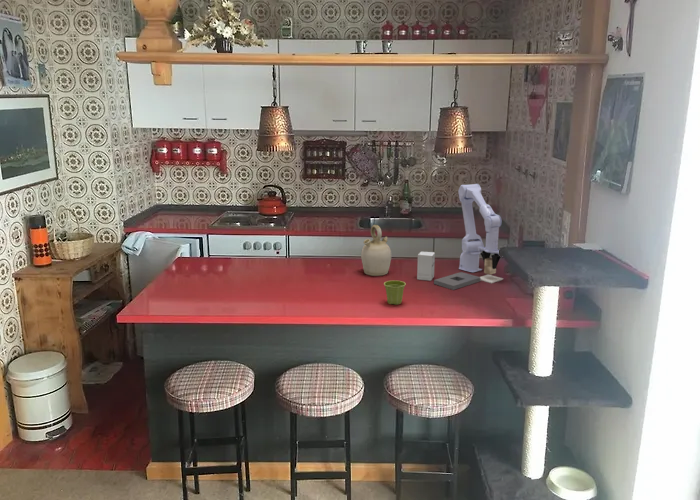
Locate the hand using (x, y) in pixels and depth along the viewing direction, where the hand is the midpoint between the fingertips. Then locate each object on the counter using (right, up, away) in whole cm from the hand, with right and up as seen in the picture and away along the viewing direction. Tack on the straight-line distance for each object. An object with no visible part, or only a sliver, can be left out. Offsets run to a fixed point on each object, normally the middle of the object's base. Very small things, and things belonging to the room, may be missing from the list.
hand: (490, 267), depth 286 cm
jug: (-55, -3, +14) cm, 57 cm away
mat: (0, -6, +1) cm, 6 cm away
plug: (0, -3, 0) cm, 3 cm away
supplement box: (-31, -6, +4) cm, 32 cm away
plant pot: (-49, -14, -30) cm, 59 cm away
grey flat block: (-17, -7, -3) cm, 18 cm away
